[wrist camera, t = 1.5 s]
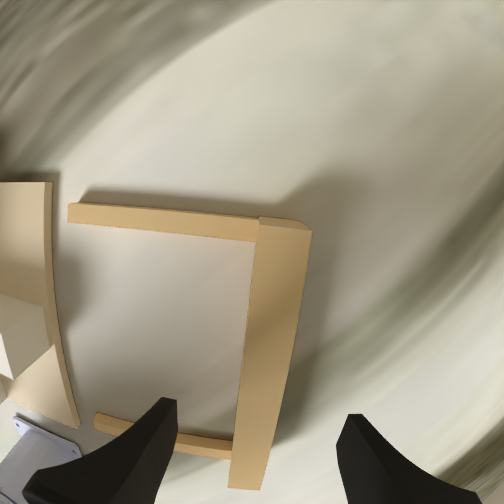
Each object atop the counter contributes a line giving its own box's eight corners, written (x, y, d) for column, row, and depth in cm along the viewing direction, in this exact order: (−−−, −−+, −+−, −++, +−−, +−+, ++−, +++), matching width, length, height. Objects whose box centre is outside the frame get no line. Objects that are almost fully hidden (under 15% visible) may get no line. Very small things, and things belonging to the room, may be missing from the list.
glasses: (99, 422, 18) (81, 452, 15) (77, 200, 15) (39, 205, 11) (261, 453, 18) (261, 490, 15) (302, 221, 15) (314, 231, 11)
